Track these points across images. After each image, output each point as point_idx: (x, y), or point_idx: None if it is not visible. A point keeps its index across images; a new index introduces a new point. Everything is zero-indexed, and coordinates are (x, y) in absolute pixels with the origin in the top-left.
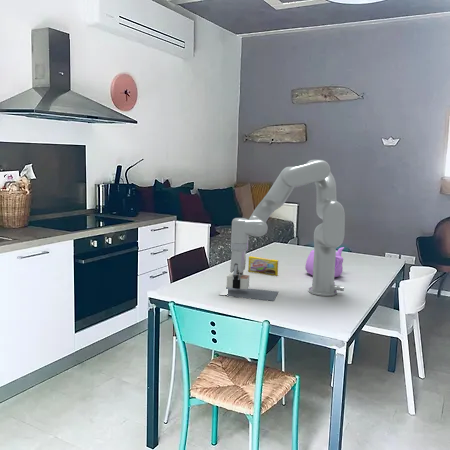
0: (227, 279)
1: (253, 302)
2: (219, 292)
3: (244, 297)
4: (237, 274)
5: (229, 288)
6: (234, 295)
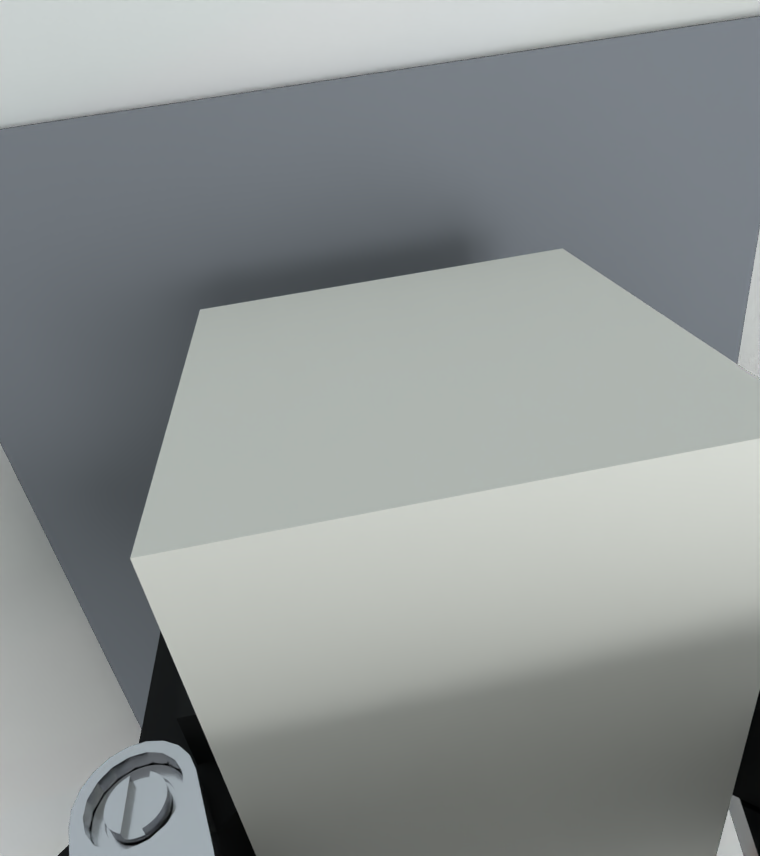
0: (172, 472)
1: (14, 826)
2: (162, 40)
3: (121, 684)
4: (733, 733)
5: (588, 188)
6: (94, 521)
